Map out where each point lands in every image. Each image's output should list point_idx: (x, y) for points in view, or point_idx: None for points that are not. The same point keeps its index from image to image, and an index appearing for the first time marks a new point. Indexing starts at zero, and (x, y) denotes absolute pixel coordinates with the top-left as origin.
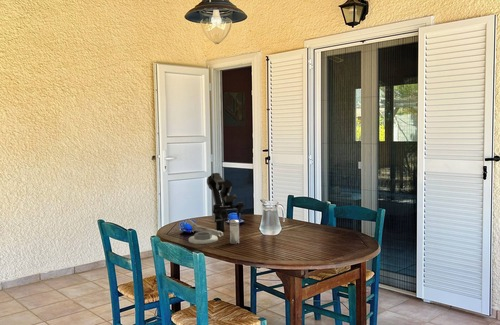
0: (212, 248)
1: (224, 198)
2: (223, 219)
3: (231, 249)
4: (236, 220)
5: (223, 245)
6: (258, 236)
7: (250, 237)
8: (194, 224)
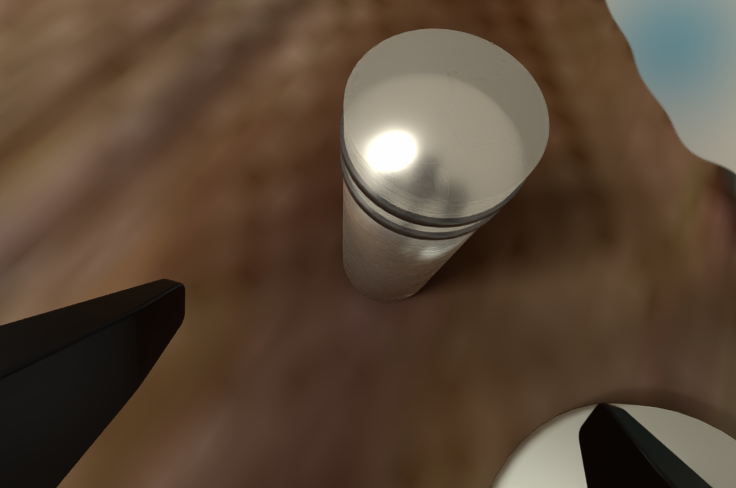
0: (637, 216)
1: None
2: (620, 410)
3: None
4: (412, 67)
5: (520, 240)
6: None
7: None
8: None
